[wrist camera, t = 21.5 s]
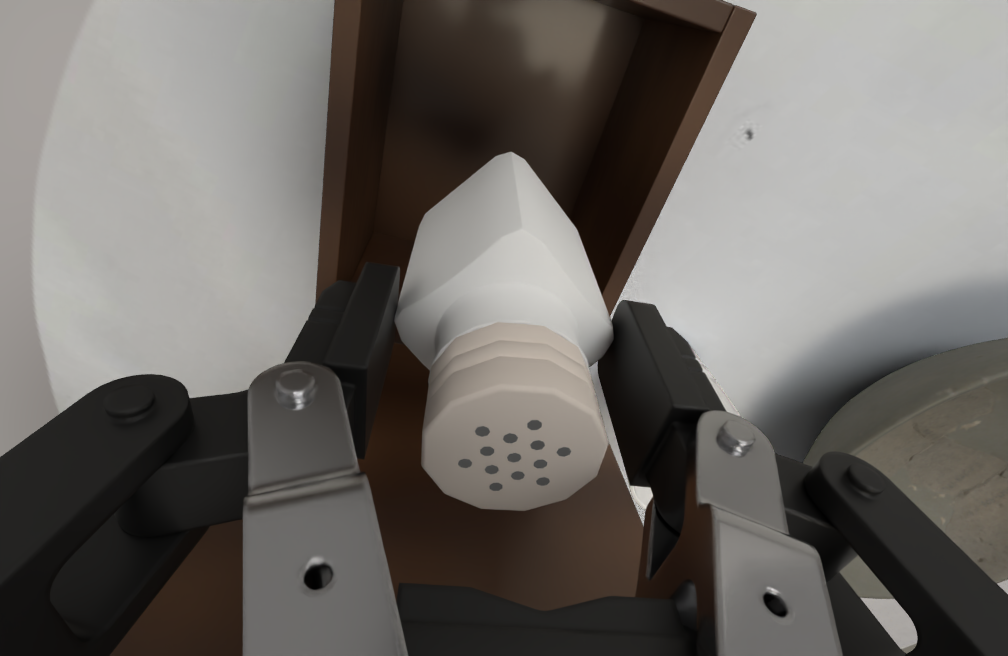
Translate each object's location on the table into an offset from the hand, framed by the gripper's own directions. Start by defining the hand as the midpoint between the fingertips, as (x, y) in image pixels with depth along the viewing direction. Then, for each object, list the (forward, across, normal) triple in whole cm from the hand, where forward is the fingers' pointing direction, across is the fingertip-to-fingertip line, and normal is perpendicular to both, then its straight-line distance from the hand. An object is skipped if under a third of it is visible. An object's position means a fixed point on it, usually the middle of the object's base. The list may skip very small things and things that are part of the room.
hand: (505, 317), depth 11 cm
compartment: (+18, 0, 0) cm, 18 cm away
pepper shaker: (+6, 0, 0) cm, 6 cm away
